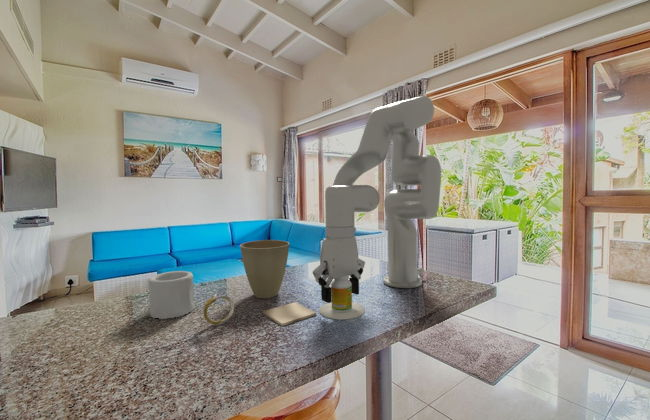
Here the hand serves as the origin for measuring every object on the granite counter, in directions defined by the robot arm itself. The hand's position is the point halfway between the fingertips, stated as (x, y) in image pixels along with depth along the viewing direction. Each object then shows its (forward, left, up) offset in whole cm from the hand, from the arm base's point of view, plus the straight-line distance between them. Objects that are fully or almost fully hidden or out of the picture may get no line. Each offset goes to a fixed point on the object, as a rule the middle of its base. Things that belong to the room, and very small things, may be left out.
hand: (340, 297), depth 80 cm
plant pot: (+9, -25, -4) cm, 27 cm away
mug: (+35, -31, -4) cm, 47 cm away
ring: (+28, -13, -4) cm, 31 cm away
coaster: (0, 0, -4) cm, 4 cm away
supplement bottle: (0, 0, -4) cm, 4 cm away
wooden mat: (+12, -7, -4) cm, 14 cm away
